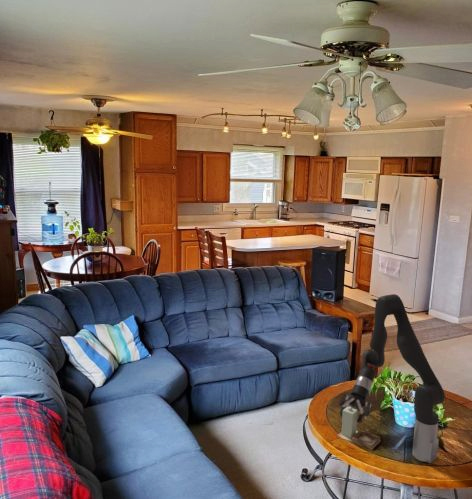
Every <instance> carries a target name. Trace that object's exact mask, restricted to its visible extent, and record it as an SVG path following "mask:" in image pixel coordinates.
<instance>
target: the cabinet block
mask: <svg viewBox="0 0 472 499" xmlns="http://www.w3.org/2000/svg"><path fill="white" fill-rule="evenodd" d="M341 417H342V418H341V431H340V432H341V434H342V435H344V436H347V437H349V438H352V437H353V436H354V435H355V434H356V431H357V424H358V422H357V420H358V409H356V408H354V407H352V406H351V407H348V406H347V407H346V408H345V409H344V410H343V414H342V416H341Z"/></svg>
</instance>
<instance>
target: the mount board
mask: <svg viewBox="0 0 472 499" xmlns="http://www.w3.org/2000/svg"><path fill="white" fill-rule="evenodd" d="M337 437H338V438H342V439H344V440H346V441H348V442H351V443H354V444H356V445H357V446H358V445H359V446H361V447H363V448H366V449H367V450H371V451H372V450H373V449H374V448H375V447H376V446H377V445H378V444H379V443H380V442H381V436H379V435H376V434H374V433H372V432H370V431H366V430H365V429H359V430H356V434H355V435H354V436H353V437H352V438H349V437H347V436H344V435H342V434H341V431H340V432H339V433H338V434H337Z"/></svg>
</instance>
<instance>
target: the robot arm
mask: <svg viewBox="0 0 472 499" xmlns="http://www.w3.org/2000/svg"><path fill="white" fill-rule="evenodd" d="M392 315H393V316H394V320H395V321H396V325H397V332H396V344H397V347H398V351H399V353H400V355H401V356H402V359H403V360H404V361H405V362H406V363H407V364H408V365H409V366H410V367H411V368H412V369H413V370H415V372H416V373H417V374H418V376H419V378H420V379H421V381H422V383H423V384H419V385H418V386H417V387H416V388H415V391H414V398H413V399H414V400H413V411H414V413H415V414H414V415H415V418H414V431H413V439H412V440H413V442H412V456H413V457H414V458H415V459H416V460H418V461H420V462H424V463H428V464H432V463H433V462H434V461H435V460H437V458H438V450H439V441H440V439H439V437H438V430H439V420H440V419H439V418H440V416H439V414H438V413H437V412H435V411H434V409H433V408H434V406H437V405H441V404H442V403H444V402H445V398H446V395H445V391H444V388H443V386H442V384H441V383H440V381H439V379H438V378H437V376H436V374H435V372H434V370H433V369H432V367H431V365H430V362H429V361H428V359H427V357H426V355H425V352H424V350H423V348H422V345H421V344H420V341H419V339H418V338H417V335H416V333H415V331H414V328H413V326H412V324H411V322H410V319H409V317H408V316H409V315H408V314H407V311H406V308H405V305H404V302H403V301H402V299H401V297H400V296H399V295H397V294H389V295H388V294H387V295H382V296H379V297H378V298H377V299H376V301H375V307H374V319H373V320H374V322H373V330H372V334H371V338H370V341H369V347H370V348H367V349H365V350H364V351H363V353H362V363H361V368H360V371H359V374H358V375H357V376H358V377H357V378H356V380H355V382H354V385H353V387H352V390H351V393H350V395H347V394H346V393H343V394H342V397H341V399H340V401H339V403H338V404H339V406H340V408H341V409H340V411H339V414H340V415H339V416H340V417H342V414H343V410H344V409H345V408H346V407H347V406H348V407H352V408H353V409H356V410H359V412H360V413H359V415H358V416H357V424H360V423H362V421H363V419H364V417H369V416H370V411H371V408H372V403H371V402H370V401H369V402H367V399H368V397H369V395H370V392H371V389H372V384H373V382H374V379H375V376H376V371H375V370H374V369H373V368H371V367H370V366H369V365H371V366H373V367H375V368H381V367H383V366H384V364H385V362H386V358H385V347H386V343H387V339H388V332H387V328H386V326H385V322H386V319H387V317H388V316H392ZM347 400H348V401H347ZM364 406H366V408H365V410H364V408H363V407H364Z"/></svg>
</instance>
